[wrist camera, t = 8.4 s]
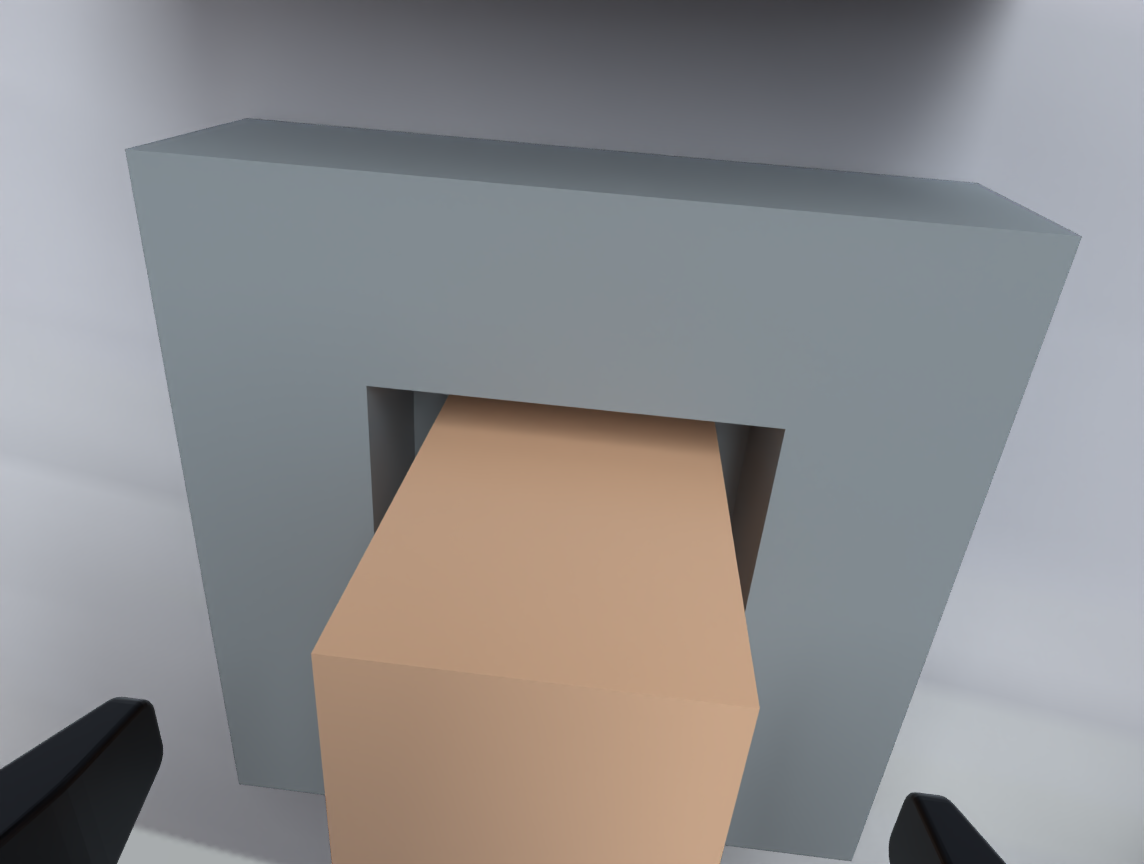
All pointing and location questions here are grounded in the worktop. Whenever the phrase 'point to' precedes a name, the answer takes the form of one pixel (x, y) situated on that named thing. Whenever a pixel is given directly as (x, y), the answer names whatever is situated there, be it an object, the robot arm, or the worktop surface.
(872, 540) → the frame
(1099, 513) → the worktop surface
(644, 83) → the worktop surface
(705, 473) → the plug
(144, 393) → the worktop surface
